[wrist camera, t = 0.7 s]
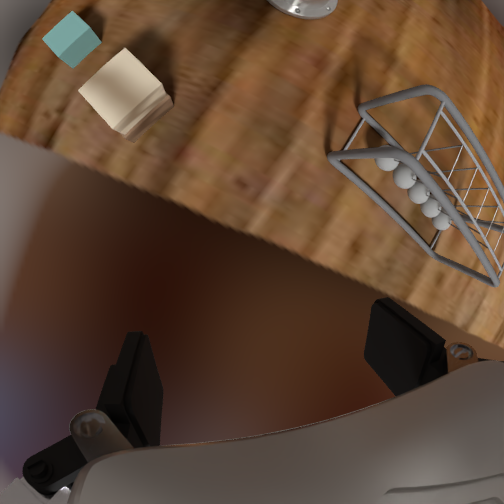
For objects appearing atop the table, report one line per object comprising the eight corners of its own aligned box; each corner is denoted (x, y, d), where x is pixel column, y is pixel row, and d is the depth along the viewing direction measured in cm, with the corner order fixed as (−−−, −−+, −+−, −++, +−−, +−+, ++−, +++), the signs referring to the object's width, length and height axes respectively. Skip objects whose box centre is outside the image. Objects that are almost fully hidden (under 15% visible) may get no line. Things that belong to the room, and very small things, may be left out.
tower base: (142, 74, 31) (135, 61, 26) (174, 106, 33) (170, 97, 28) (103, 109, 31) (91, 101, 26) (134, 142, 33) (125, 138, 28)
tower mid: (134, 63, 26) (125, 47, 21) (167, 96, 28) (161, 83, 23) (93, 100, 26) (78, 90, 22) (124, 134, 28) (112, 128, 24)
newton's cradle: (320, 156, 38) (400, 152, 21) (354, 104, 37) (436, 79, 20) (431, 258, 47) (500, 292, 30) (454, 214, 46) (524, 235, 29)
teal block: (84, 26, 26) (72, 10, 21) (101, 42, 28) (90, 27, 22) (57, 51, 26) (42, 38, 21) (73, 68, 28) (58, 57, 23)
